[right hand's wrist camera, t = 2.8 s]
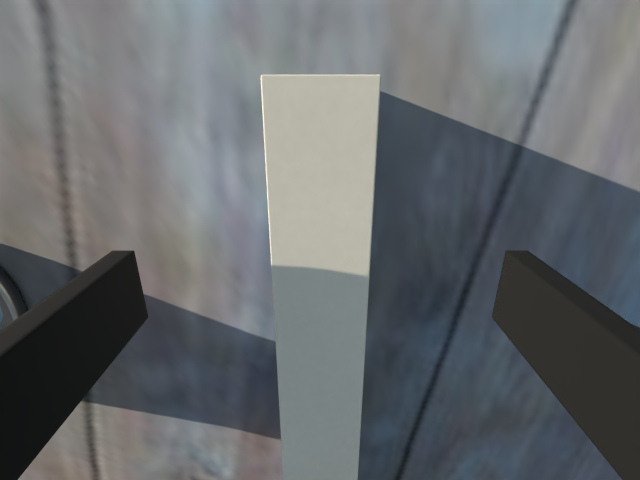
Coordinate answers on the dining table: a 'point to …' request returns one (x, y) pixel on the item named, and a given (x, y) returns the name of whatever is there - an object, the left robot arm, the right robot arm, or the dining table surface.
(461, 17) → the dining table surface
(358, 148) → the beam
